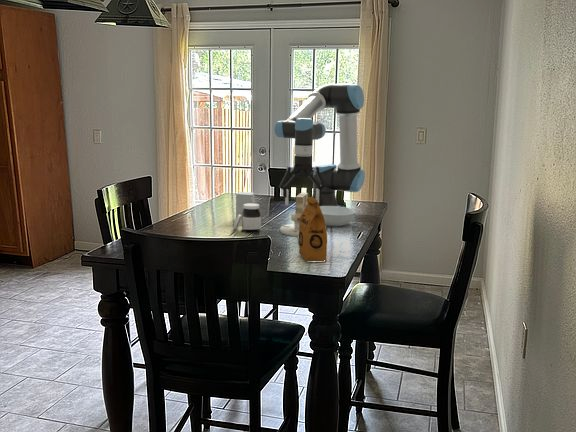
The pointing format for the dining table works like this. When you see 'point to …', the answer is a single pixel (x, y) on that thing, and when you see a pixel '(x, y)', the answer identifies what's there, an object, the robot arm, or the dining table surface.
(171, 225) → the dining table surface
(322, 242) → the coffee package
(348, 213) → the serving bowl
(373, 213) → the dining table surface
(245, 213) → the spread jar
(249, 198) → the supplement box
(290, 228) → the dial plate
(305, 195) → the lever handle
